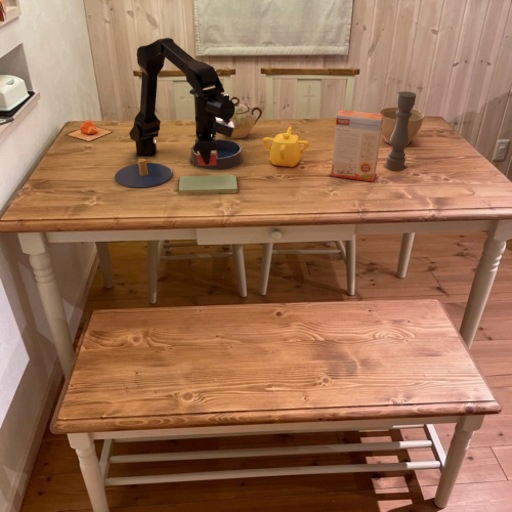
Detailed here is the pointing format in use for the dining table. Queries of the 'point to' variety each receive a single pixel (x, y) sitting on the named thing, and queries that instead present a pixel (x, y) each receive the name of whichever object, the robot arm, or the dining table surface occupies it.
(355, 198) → the dining table surface
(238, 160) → the pot
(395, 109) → the planter bowl
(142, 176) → the lid
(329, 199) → the dining table surface
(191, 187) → the board
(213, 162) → the meat
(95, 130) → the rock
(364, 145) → the cracker box
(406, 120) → the candle holder
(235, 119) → the sugar bowl
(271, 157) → the teapot
